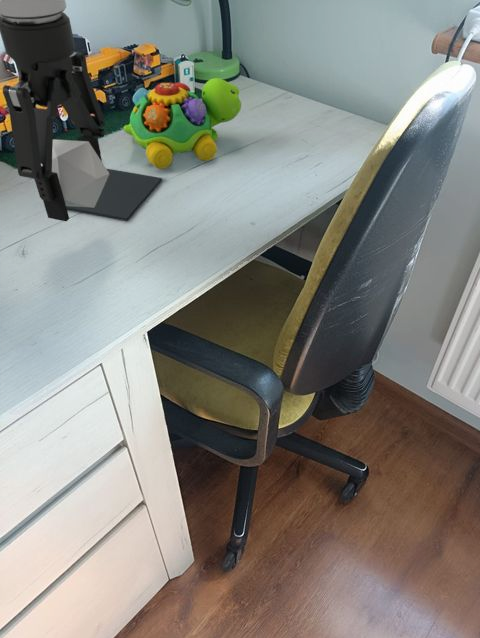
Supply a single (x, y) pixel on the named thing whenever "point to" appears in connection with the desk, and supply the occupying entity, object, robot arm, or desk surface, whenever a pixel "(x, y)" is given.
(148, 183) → the mat
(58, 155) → the die
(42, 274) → the desk surface
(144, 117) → the turtle toy
